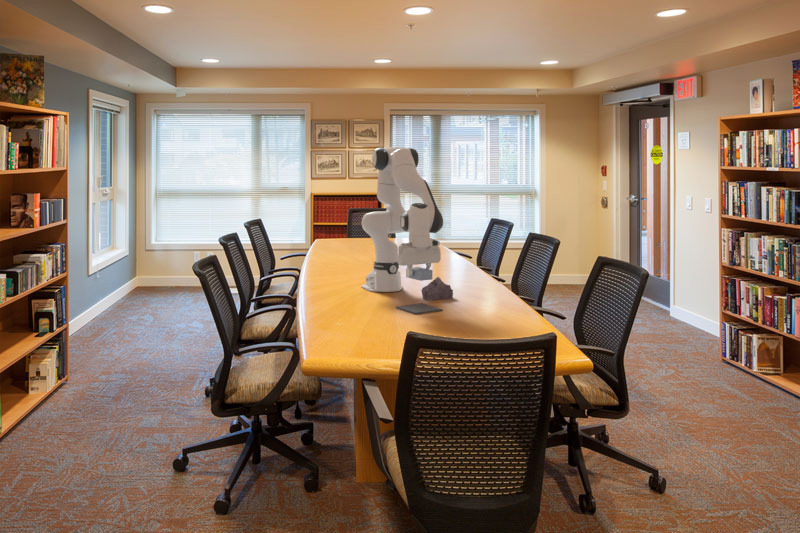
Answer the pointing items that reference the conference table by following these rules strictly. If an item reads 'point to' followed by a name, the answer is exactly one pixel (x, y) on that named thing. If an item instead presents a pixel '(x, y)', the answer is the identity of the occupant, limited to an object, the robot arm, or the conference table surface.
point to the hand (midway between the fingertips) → (419, 274)
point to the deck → (420, 273)
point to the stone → (437, 290)
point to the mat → (418, 308)
